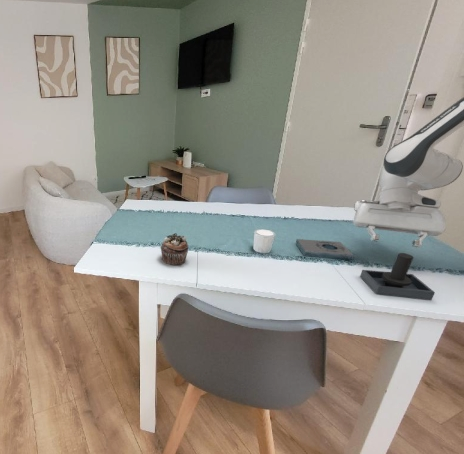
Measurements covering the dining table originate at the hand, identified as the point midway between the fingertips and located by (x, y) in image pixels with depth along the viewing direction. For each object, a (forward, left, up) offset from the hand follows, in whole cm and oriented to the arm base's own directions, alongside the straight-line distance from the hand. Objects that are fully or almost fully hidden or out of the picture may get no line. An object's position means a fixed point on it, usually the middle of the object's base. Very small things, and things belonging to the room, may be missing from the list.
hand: (395, 243), depth 87 cm
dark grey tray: (+3, +10, -10) cm, 14 cm away
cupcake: (+65, +6, -10) cm, 66 cm away
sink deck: (+14, -11, -10) cm, 20 cm away
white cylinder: (+34, -8, -10) cm, 36 cm away
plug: (+3, +10, -9) cm, 14 cm away
